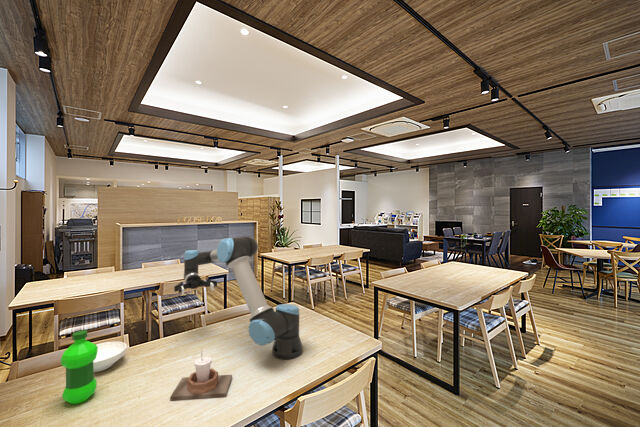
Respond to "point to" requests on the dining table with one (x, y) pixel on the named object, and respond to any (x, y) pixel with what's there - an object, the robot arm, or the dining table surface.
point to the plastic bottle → (79, 369)
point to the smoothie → (203, 368)
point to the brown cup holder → (202, 387)
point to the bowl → (108, 354)
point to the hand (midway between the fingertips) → (198, 289)
